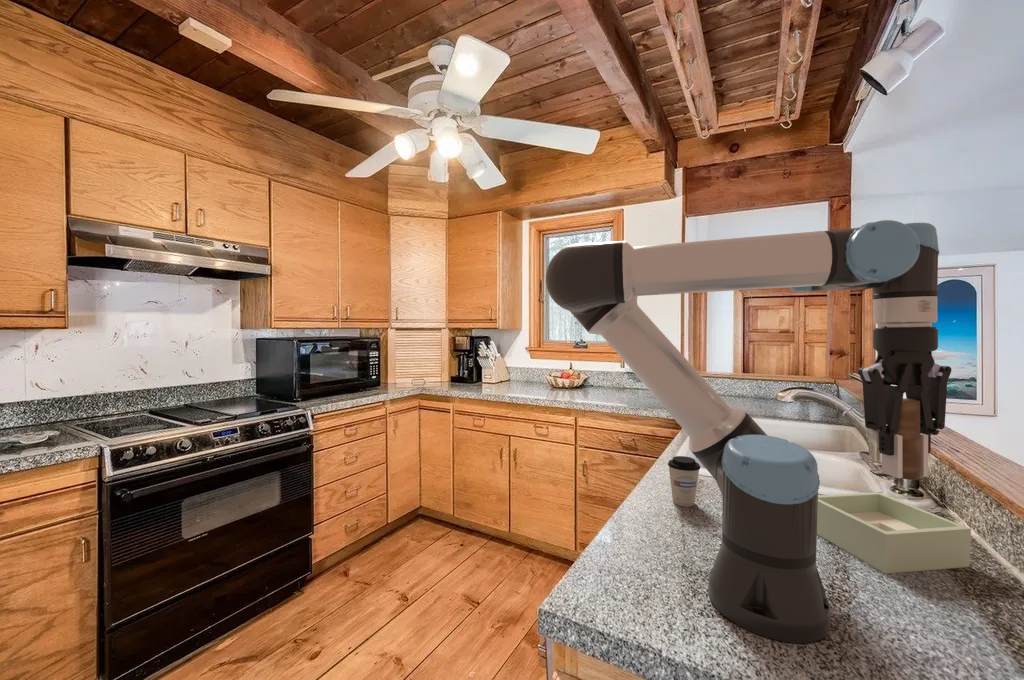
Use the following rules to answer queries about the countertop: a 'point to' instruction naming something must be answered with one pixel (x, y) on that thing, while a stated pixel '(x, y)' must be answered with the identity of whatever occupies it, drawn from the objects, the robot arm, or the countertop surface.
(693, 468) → the coffee cup
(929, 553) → the peg box
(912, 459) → the peg
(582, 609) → the countertop surface
